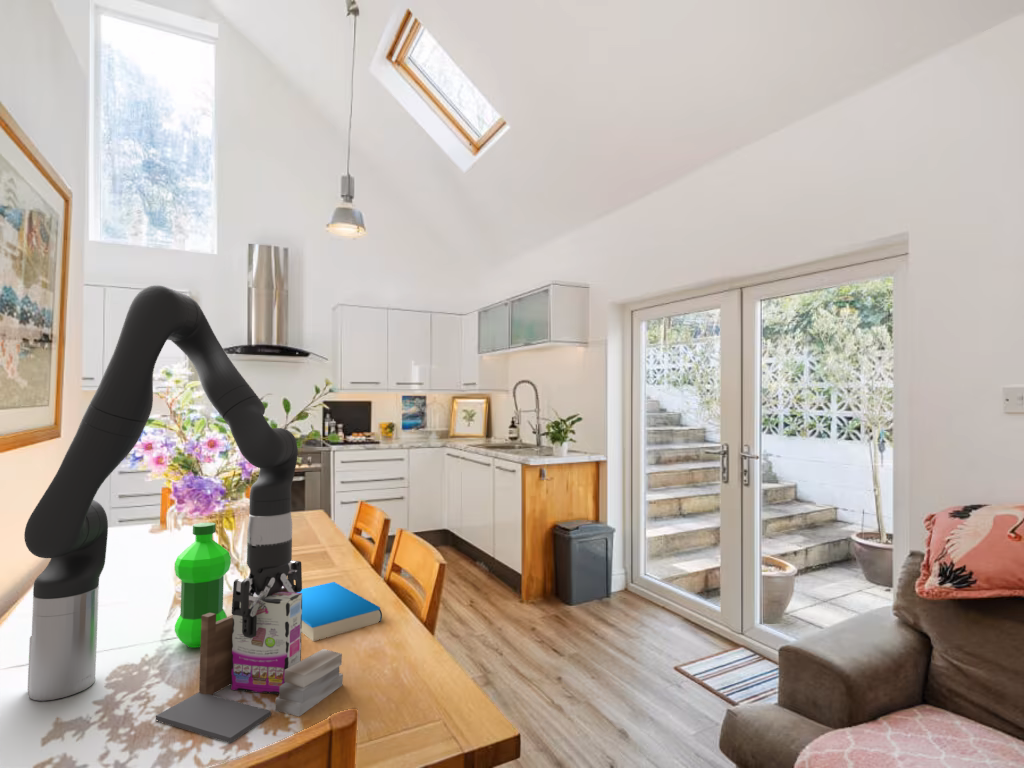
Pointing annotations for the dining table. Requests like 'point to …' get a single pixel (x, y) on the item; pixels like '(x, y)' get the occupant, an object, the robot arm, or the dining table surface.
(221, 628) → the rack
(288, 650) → the candy bar box
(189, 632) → the plastic bottle
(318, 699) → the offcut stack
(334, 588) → the book
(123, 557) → the dining table surface
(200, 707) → the mat
